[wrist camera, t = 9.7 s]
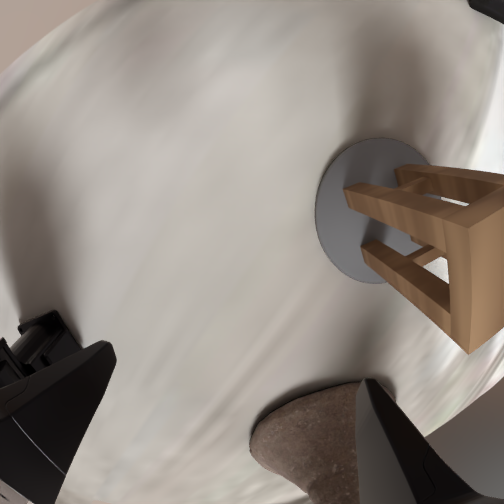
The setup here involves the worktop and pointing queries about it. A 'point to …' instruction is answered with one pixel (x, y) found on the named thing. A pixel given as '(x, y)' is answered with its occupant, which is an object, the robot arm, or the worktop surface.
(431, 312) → the stool
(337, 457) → the sculpture
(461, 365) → the worktop surface
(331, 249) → the mat
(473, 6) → the handgun
